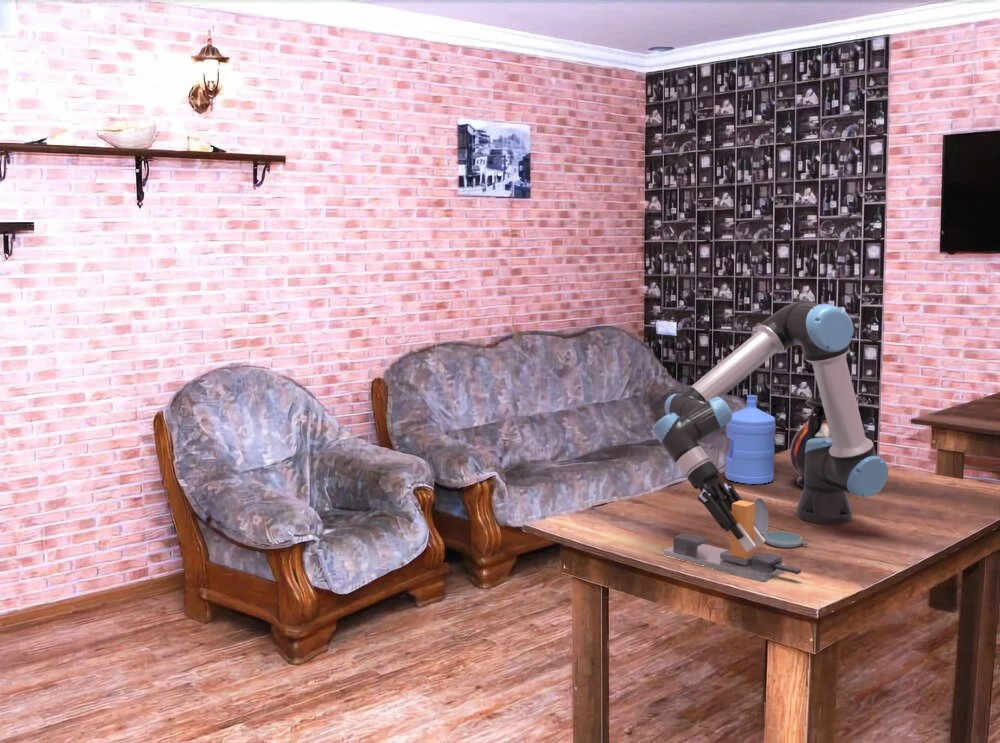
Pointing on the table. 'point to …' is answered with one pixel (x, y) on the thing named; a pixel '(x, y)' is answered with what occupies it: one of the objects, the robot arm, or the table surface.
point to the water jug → (751, 445)
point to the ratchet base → (699, 553)
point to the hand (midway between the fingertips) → (756, 546)
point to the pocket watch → (774, 537)
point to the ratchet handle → (745, 516)
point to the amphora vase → (808, 436)
